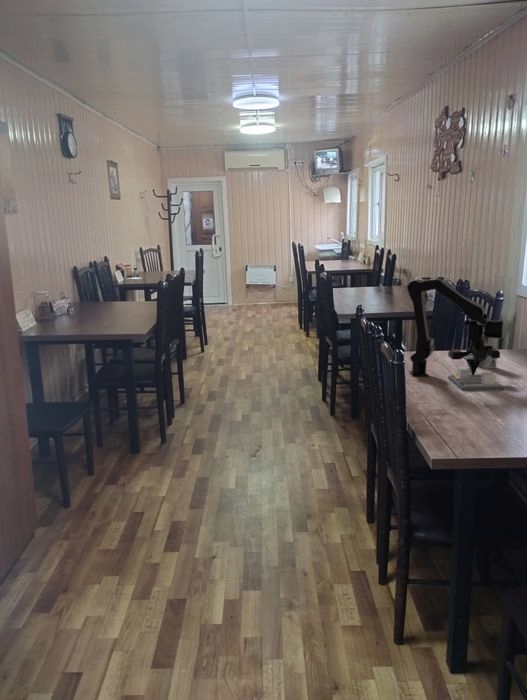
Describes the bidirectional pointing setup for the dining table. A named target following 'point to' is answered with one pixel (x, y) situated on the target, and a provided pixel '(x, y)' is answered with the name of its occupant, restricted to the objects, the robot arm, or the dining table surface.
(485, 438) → the dining table surface
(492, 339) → the coffee box
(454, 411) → the dining table surface
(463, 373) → the light grey cube
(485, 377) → the beige cube
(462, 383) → the switch panel
